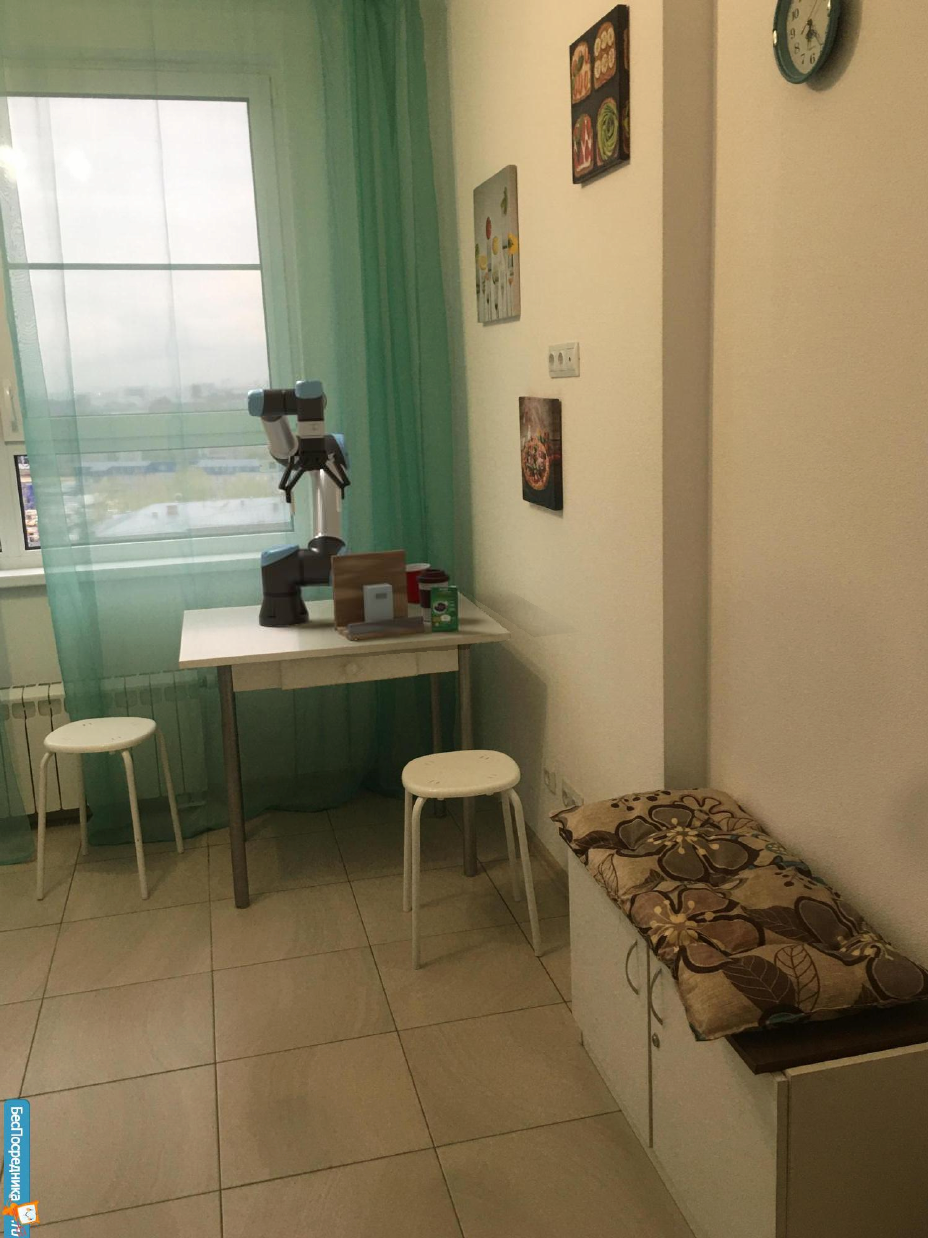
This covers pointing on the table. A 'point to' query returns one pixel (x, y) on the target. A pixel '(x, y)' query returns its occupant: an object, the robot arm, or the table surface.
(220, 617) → the table surface
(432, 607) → the coffee box
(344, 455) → the robot arm
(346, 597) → the brown wooden display stand
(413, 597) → the plastic cup
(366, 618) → the small blue-gray block
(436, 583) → the coffee cup
